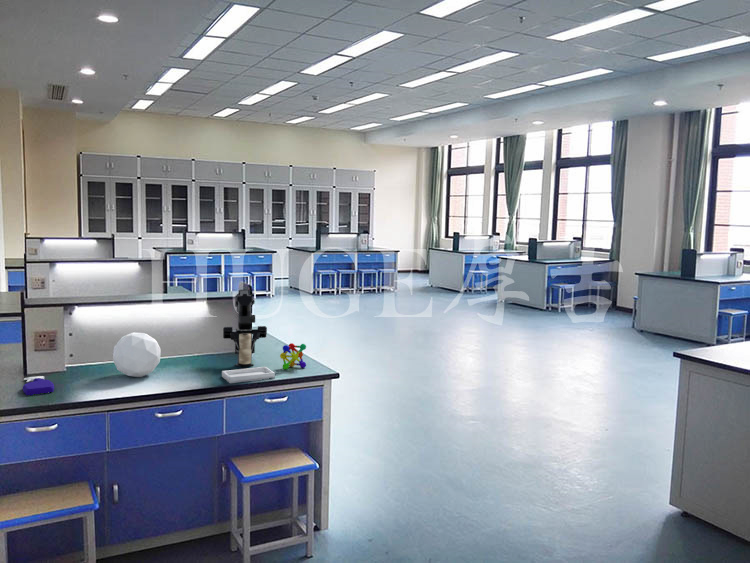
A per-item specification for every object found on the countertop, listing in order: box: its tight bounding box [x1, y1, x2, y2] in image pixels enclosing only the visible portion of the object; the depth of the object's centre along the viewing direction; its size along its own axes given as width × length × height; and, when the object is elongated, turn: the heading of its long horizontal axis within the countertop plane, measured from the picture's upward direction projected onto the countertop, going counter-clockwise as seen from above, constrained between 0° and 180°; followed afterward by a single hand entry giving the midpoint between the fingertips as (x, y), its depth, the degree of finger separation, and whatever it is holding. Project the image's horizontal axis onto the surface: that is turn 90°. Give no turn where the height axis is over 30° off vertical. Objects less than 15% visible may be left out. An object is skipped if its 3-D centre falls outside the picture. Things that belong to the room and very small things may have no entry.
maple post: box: [239, 333, 252, 364], centre depth 267 cm, size 5×5×13 cm
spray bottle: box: [22, 375, 55, 396], centre depth 248 cm, size 3×11×24 cm
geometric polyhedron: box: [112, 331, 162, 378], centre depth 268 cm, size 19×20×20 cm
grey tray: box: [221, 366, 276, 384], centre depth 270 cm, size 20×12×2 cm, turn 119°
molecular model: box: [279, 342, 307, 370], centre depth 288 cm, size 12×7×12 cm, turn 116°
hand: (245, 348), depth 266 cm, fingers closed on maple post, 5 cm apart
